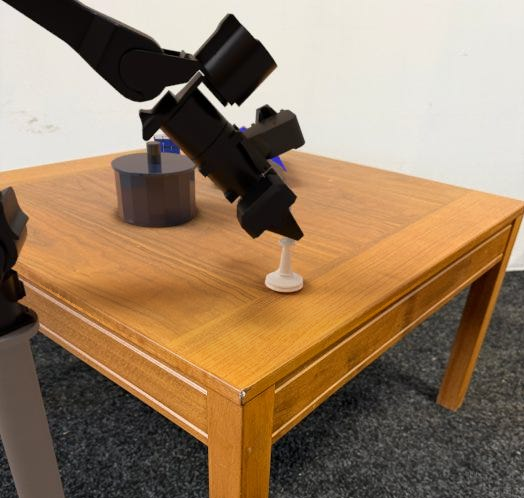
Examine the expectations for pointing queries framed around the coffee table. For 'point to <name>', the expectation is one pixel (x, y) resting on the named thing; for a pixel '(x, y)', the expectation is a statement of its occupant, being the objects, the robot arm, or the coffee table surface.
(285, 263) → the chess piece
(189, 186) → the pot
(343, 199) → the coffee table surface
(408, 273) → the coffee table surface
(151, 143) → the pot lid
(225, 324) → the coffee table surface
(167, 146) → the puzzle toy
